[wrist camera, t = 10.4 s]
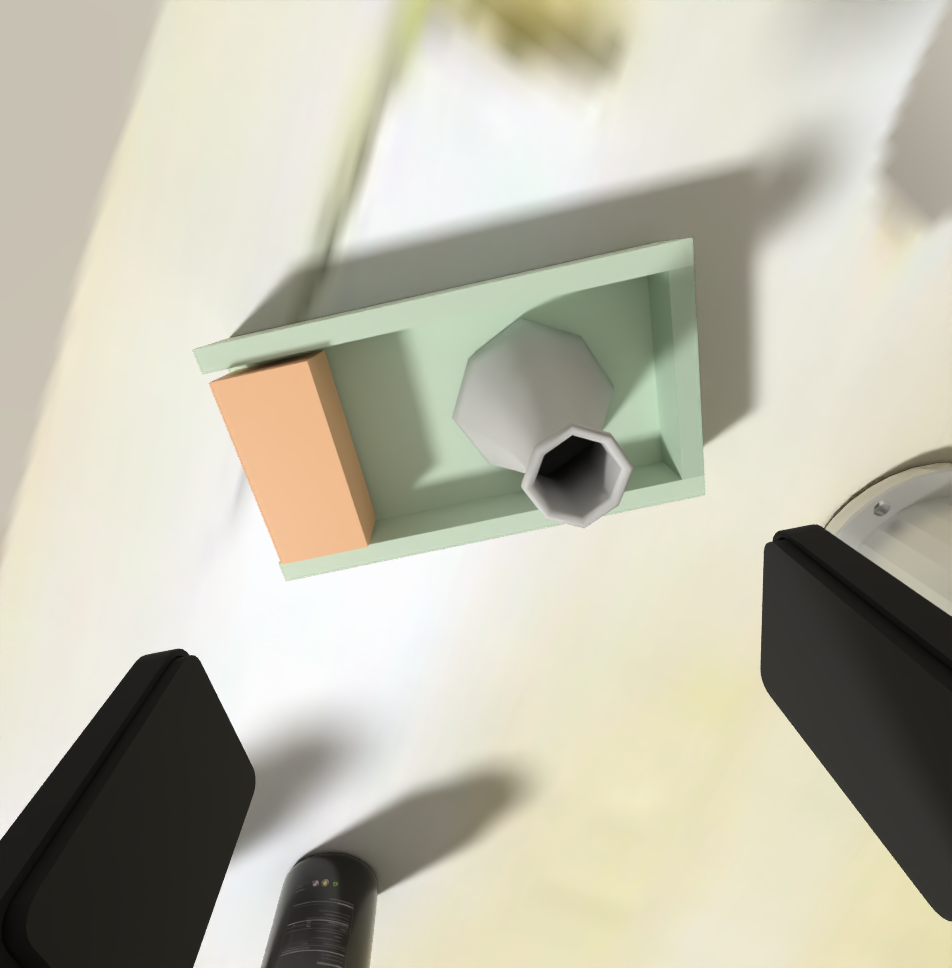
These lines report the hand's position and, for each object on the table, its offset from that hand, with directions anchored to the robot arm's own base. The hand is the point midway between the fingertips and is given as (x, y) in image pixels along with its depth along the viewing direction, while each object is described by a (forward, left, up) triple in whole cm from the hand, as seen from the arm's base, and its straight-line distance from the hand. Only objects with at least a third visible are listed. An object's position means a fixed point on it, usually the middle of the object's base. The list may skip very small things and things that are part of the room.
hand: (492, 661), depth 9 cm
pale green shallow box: (0, 0, -19) cm, 19 cm away
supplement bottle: (+17, +33, -19) cm, 42 cm away
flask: (-3, 0, -18) cm, 18 cm away
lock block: (+8, 0, -17) cm, 19 cm away
